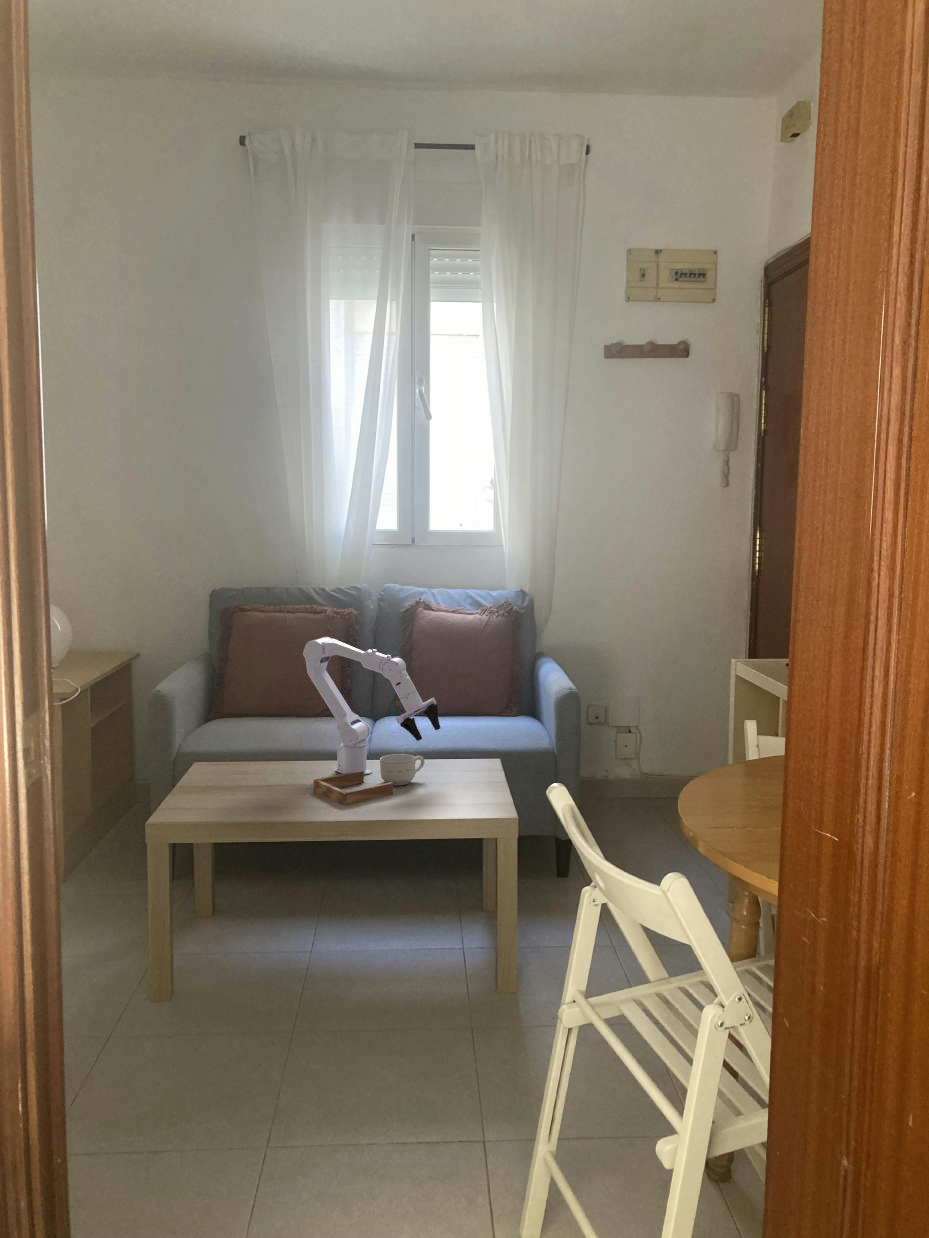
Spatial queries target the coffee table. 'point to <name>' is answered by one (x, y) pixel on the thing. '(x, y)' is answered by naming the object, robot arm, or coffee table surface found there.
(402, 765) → the teacup
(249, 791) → the coffee table surface
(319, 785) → the cradle
